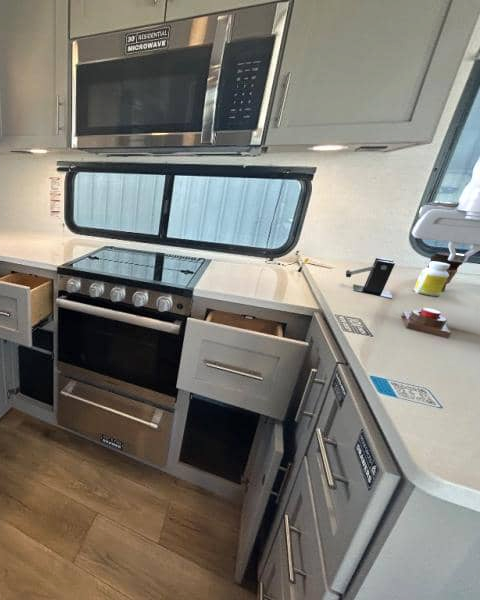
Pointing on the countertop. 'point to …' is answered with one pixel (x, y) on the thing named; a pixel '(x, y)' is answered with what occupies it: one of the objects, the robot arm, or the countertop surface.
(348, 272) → the switch lever
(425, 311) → the button
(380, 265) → the switch bracket
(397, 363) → the countertop surface
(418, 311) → the button block
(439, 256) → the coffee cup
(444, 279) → the pill bottle
